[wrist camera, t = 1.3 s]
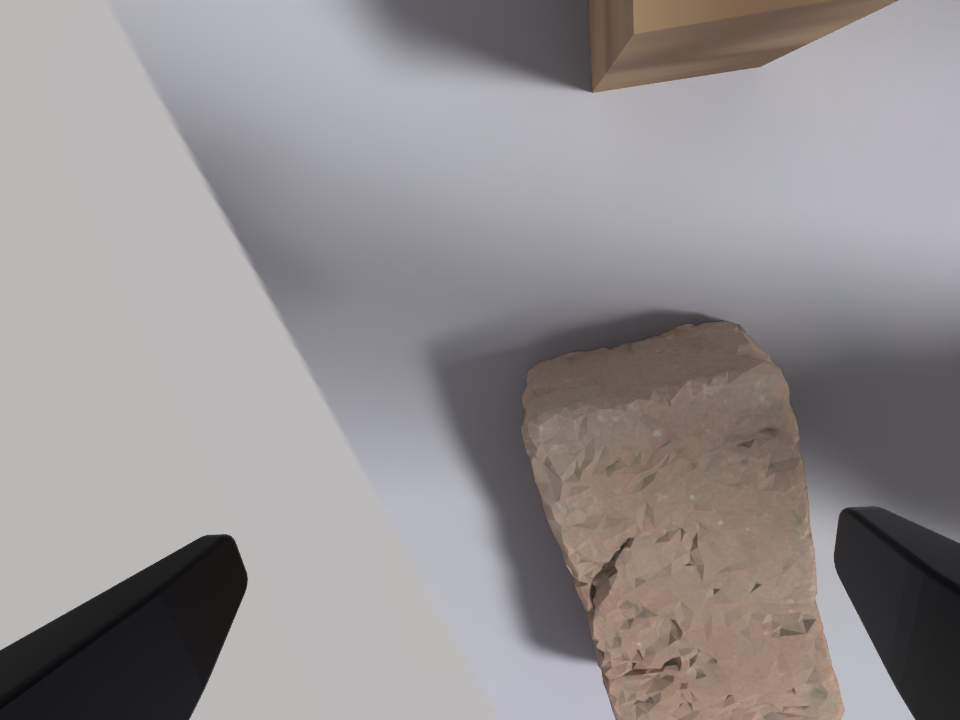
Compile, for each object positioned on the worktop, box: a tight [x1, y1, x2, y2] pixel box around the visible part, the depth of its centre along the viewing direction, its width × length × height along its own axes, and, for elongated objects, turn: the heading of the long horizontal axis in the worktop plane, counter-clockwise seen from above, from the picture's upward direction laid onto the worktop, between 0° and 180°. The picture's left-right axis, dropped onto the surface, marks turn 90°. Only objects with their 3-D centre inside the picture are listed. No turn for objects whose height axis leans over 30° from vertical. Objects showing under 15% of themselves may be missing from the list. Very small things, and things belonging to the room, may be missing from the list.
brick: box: [521, 321, 845, 720], centre depth 19 cm, size 16×8×5 cm, turn 19°
